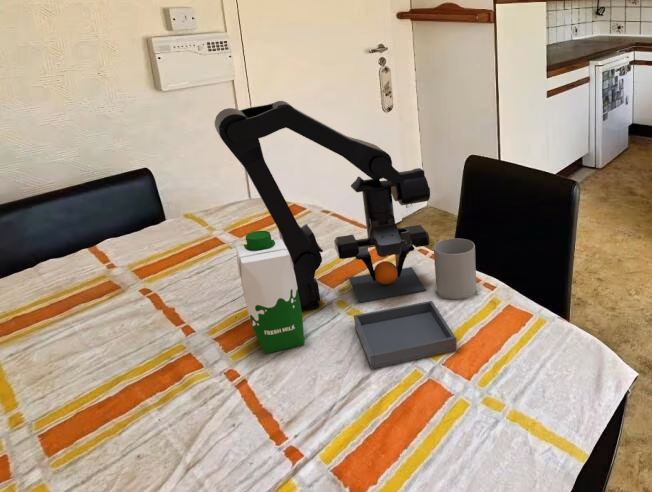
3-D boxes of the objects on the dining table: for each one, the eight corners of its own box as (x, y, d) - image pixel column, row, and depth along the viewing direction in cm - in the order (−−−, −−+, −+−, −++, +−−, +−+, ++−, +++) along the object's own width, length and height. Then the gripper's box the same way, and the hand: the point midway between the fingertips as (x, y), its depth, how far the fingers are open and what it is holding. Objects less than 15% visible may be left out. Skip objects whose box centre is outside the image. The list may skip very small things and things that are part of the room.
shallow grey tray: (371, 369, 106) (370, 356, 104) (355, 327, 118) (353, 315, 117) (456, 350, 111) (456, 337, 110) (432, 312, 123) (431, 300, 122)
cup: (470, 300, 127) (468, 256, 123) (431, 297, 129) (428, 252, 124) (480, 282, 135) (478, 239, 130) (443, 279, 136) (440, 237, 131)
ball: (377, 290, 131) (375, 268, 128) (372, 280, 135) (370, 259, 132) (401, 286, 132) (399, 264, 130) (395, 276, 136) (393, 255, 134)
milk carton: (300, 324, 119) (282, 226, 110) (310, 346, 112) (292, 243, 103) (252, 335, 116) (228, 234, 106) (259, 359, 108) (235, 253, 99)
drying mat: (359, 303, 127) (359, 301, 126) (349, 279, 136) (349, 277, 136) (426, 290, 131) (426, 289, 131) (411, 268, 141) (411, 267, 141)
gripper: (338, 229, 116) (348, 302, 123) (434, 215, 122) (439, 286, 130) (329, 210, 125) (339, 280, 132) (419, 198, 131) (424, 265, 139)
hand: (386, 278), depth 133 cm, fingers closed on ball, 5 cm apart
